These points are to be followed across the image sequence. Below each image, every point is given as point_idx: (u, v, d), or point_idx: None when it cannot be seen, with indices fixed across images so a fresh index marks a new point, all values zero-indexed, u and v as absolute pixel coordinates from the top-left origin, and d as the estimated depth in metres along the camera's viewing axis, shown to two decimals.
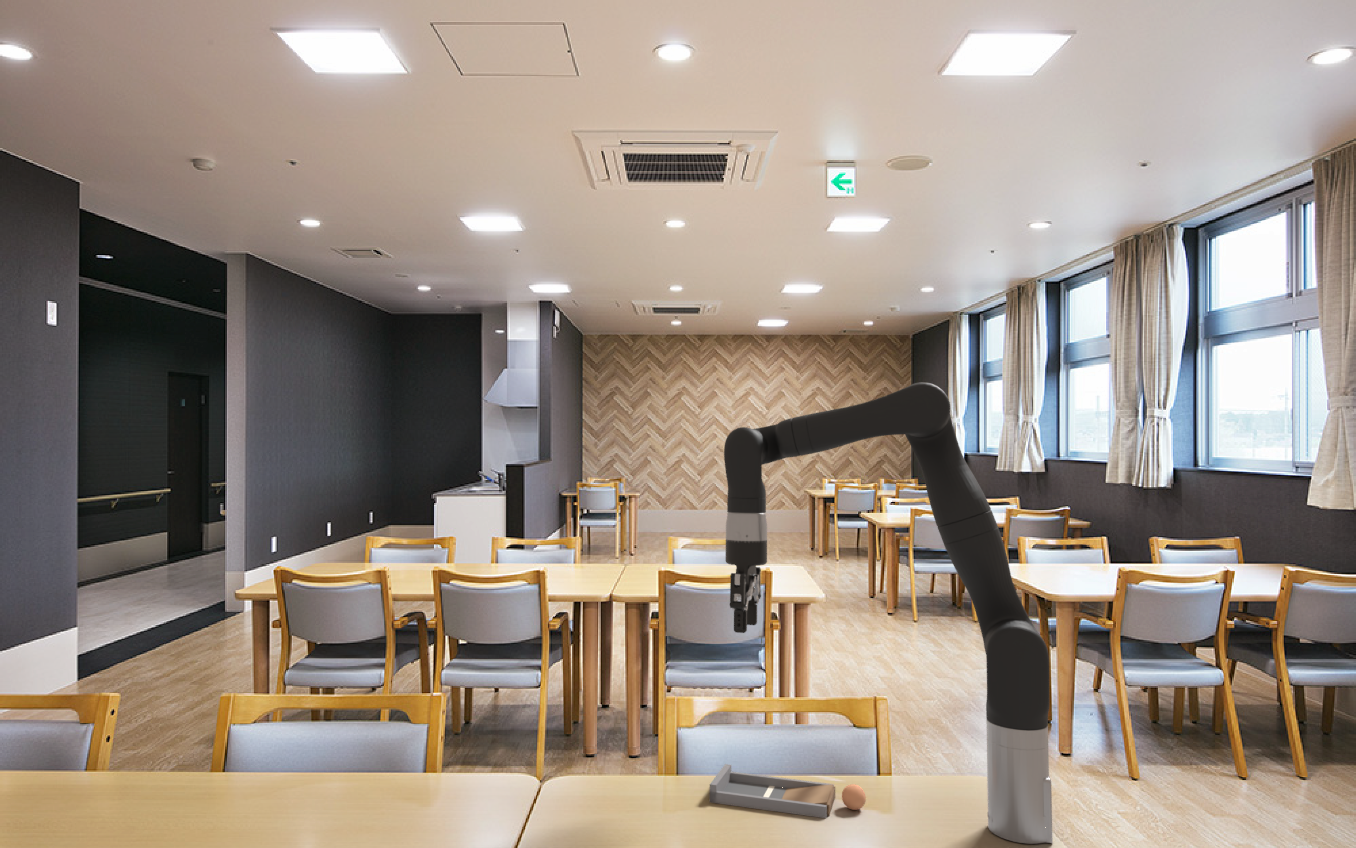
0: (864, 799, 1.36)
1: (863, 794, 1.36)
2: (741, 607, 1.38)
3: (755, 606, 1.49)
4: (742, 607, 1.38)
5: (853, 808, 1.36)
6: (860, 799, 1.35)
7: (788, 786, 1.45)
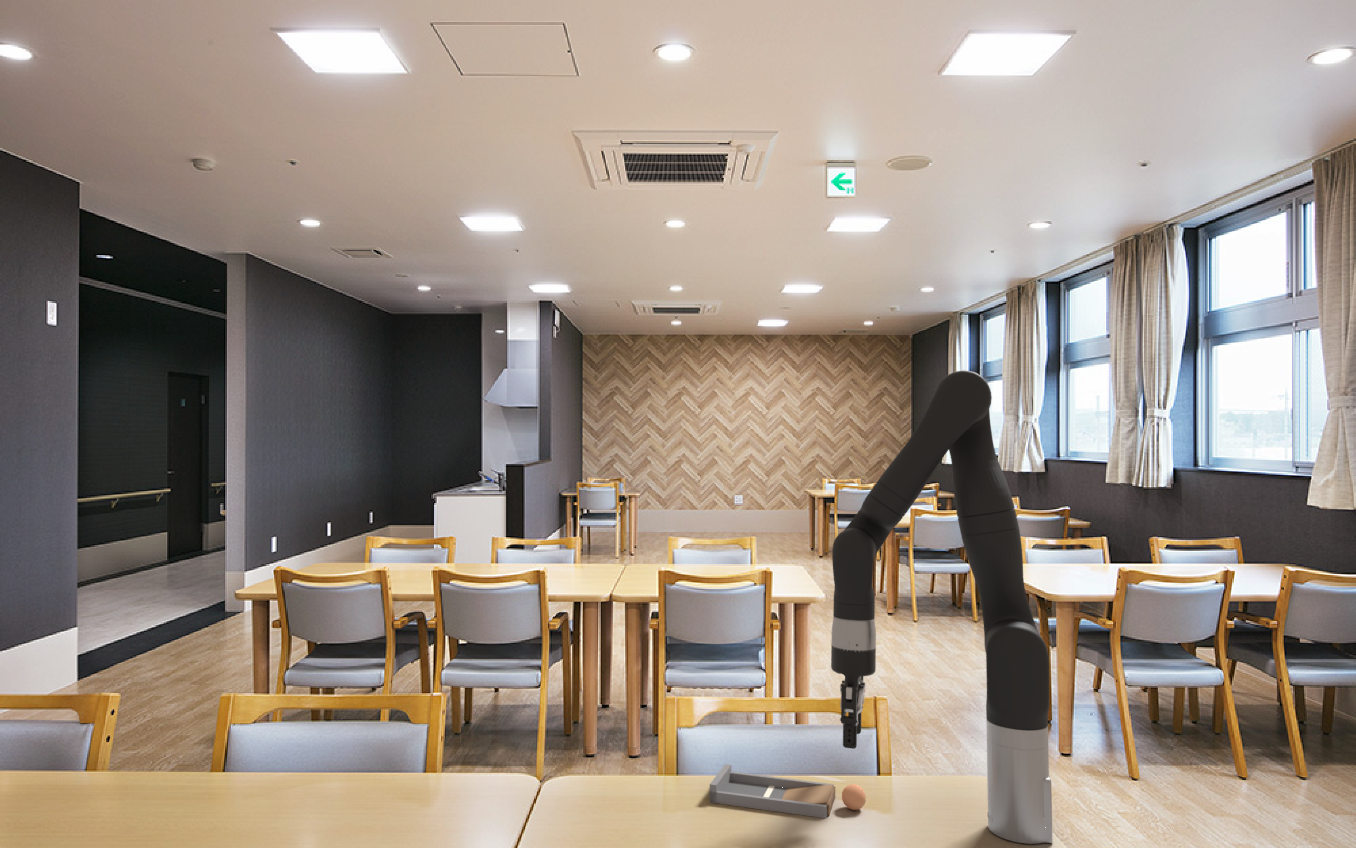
0: (864, 799, 1.36)
1: (863, 794, 1.36)
2: (853, 723, 1.31)
3: (860, 714, 1.42)
4: (854, 723, 1.31)
5: (853, 808, 1.36)
6: (860, 799, 1.35)
7: (788, 786, 1.45)
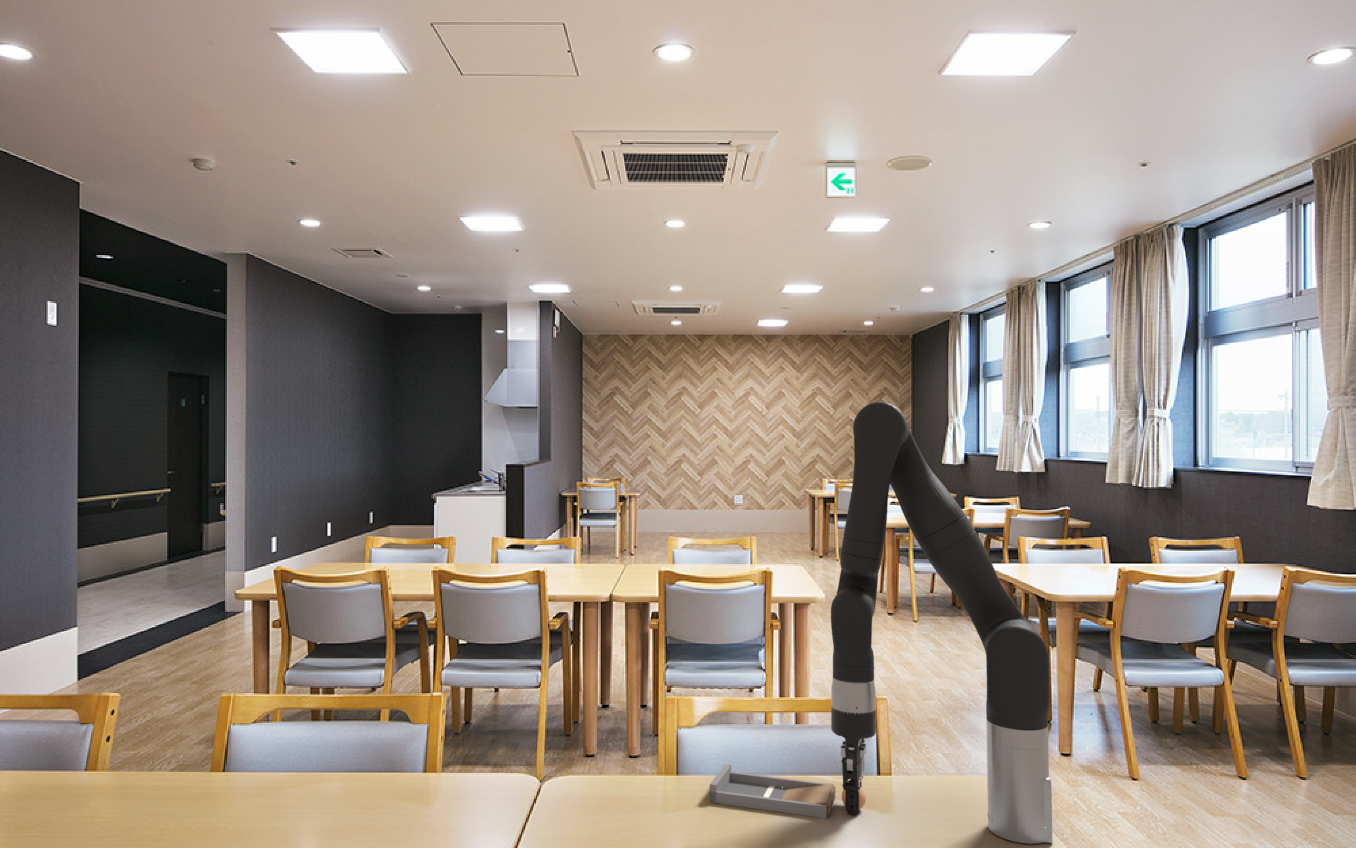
0: (864, 799, 1.36)
1: (863, 794, 1.36)
2: (855, 790, 1.32)
3: (860, 784, 1.39)
4: (856, 790, 1.32)
5: None
6: (860, 799, 1.35)
7: (788, 786, 1.45)
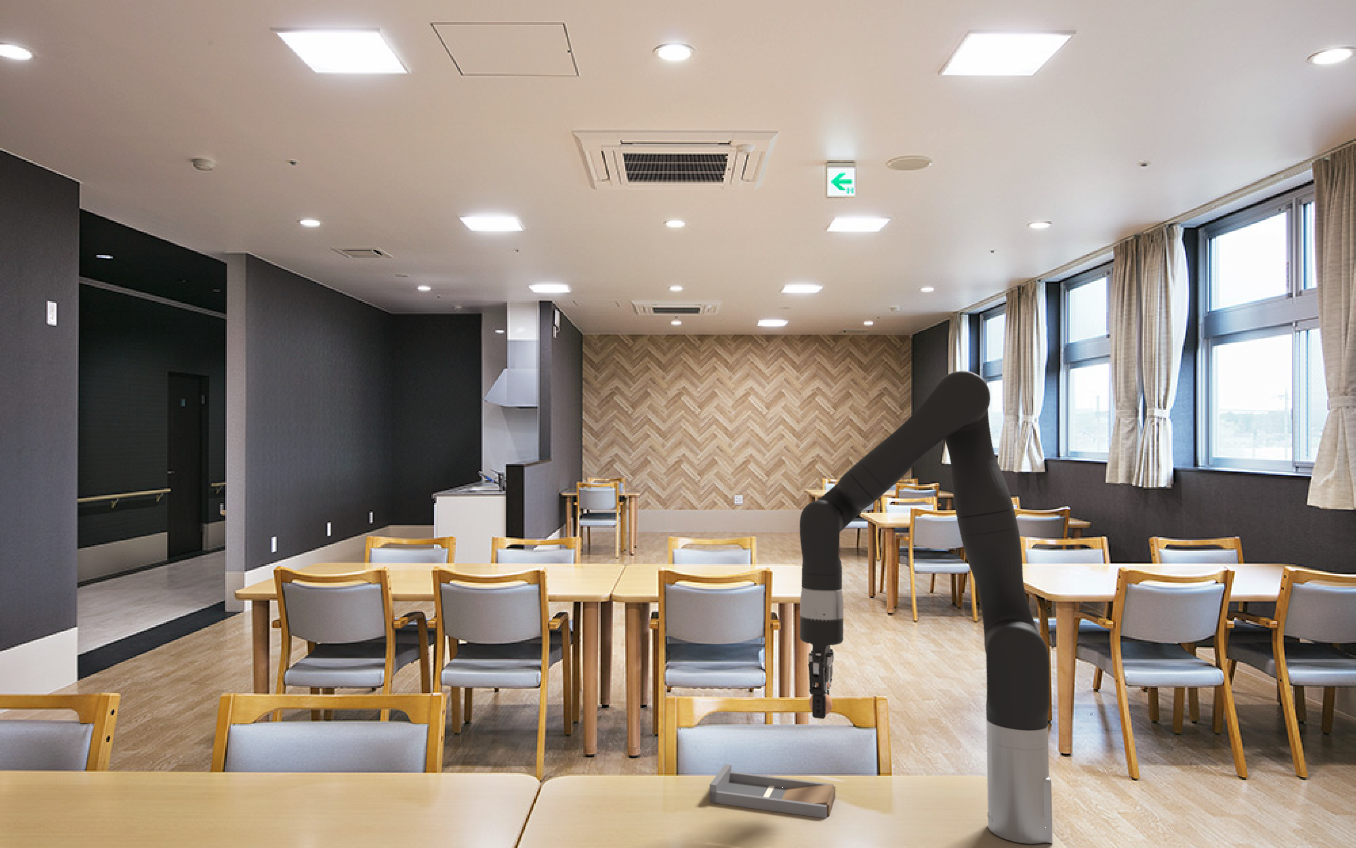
0: (830, 705, 1.39)
1: (830, 700, 1.39)
2: (821, 694, 1.35)
3: (827, 692, 1.42)
4: (822, 694, 1.35)
5: None
6: (827, 705, 1.38)
7: (788, 786, 1.45)
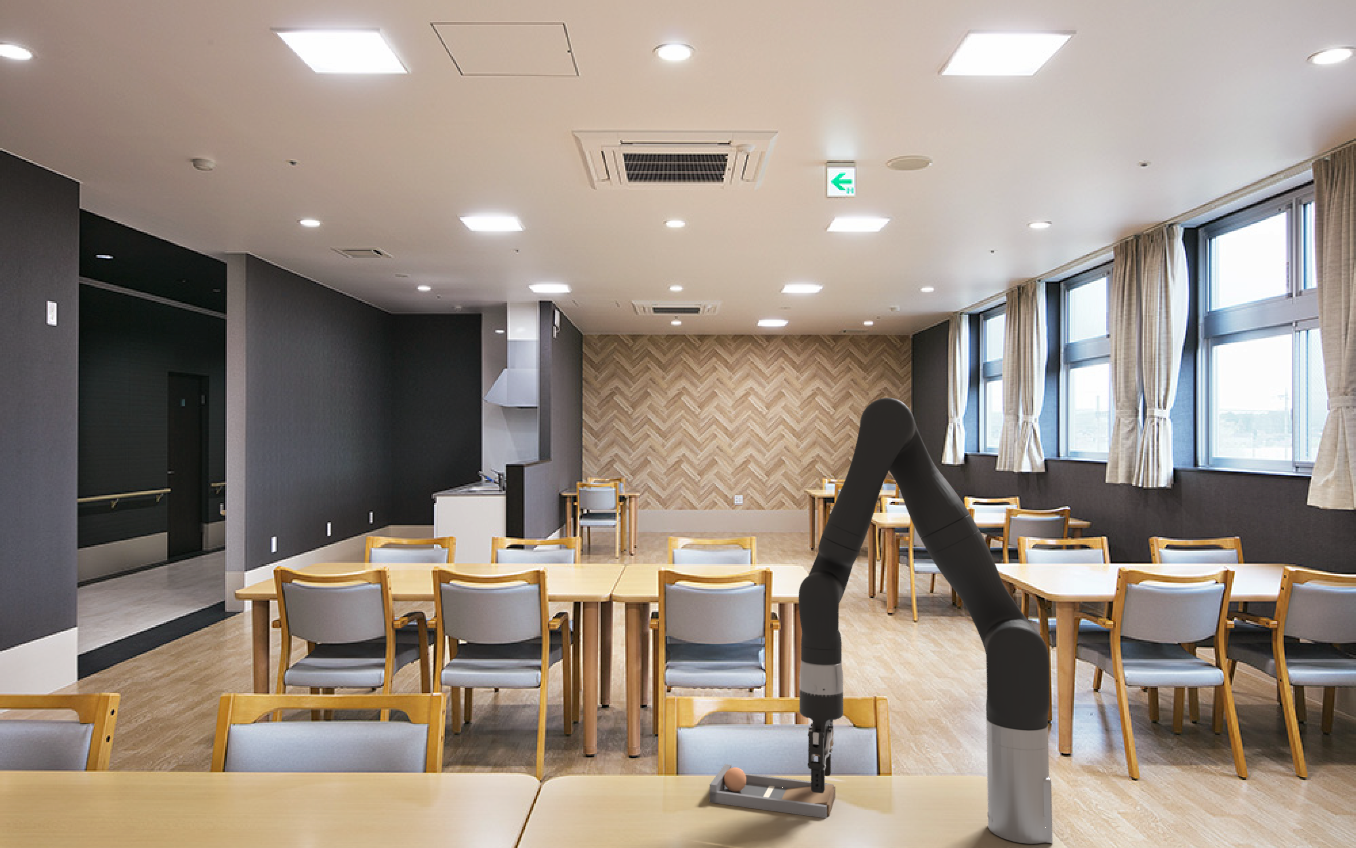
0: (732, 770, 1.43)
1: (729, 770, 1.43)
2: (820, 769, 1.32)
3: (829, 756, 1.43)
4: (821, 769, 1.32)
5: (740, 782, 1.42)
6: (731, 774, 1.42)
7: (788, 786, 1.45)
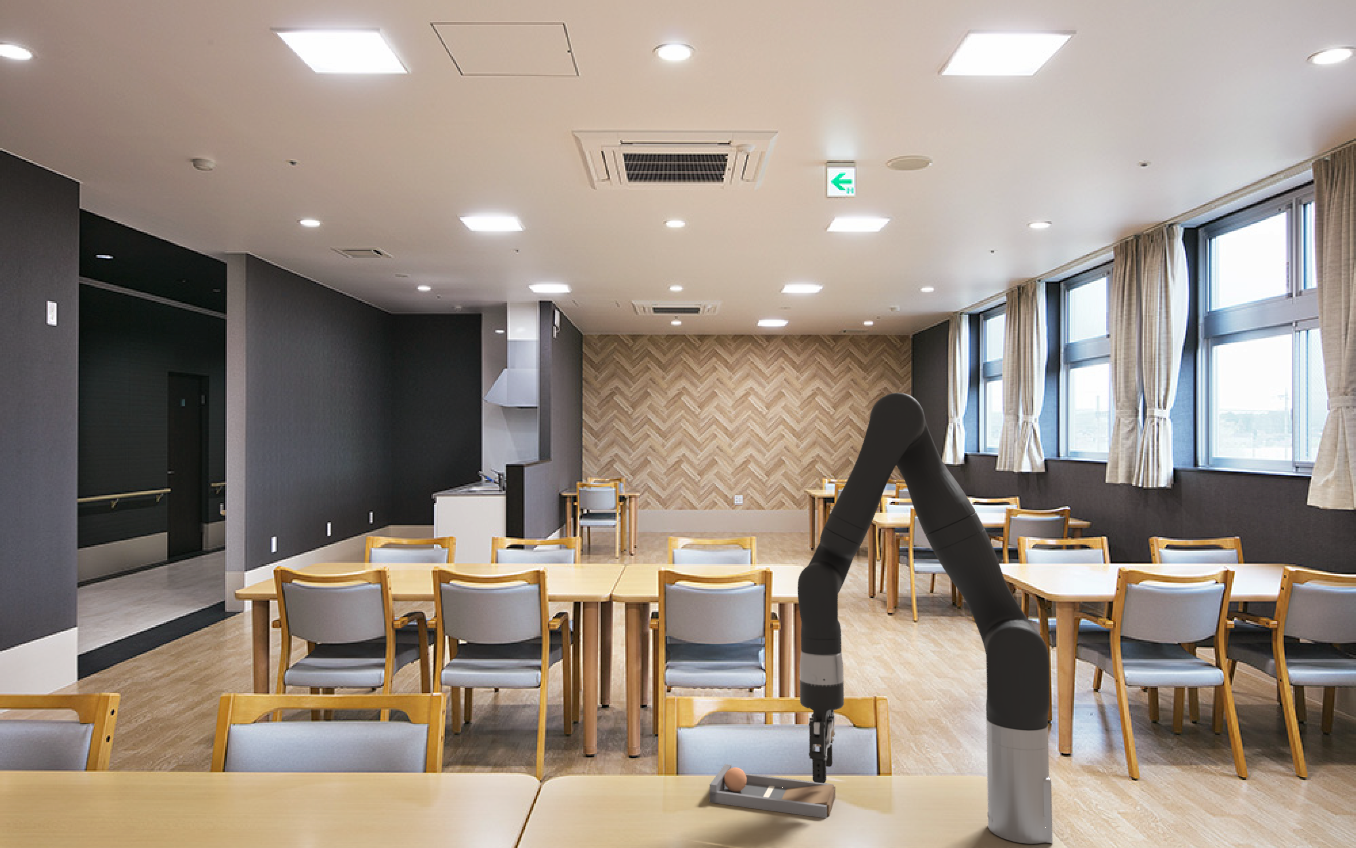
0: (733, 770, 1.43)
1: (730, 770, 1.43)
2: (821, 758, 1.32)
3: (830, 747, 1.43)
4: (822, 758, 1.32)
5: (741, 783, 1.42)
6: (732, 774, 1.42)
7: (788, 786, 1.45)
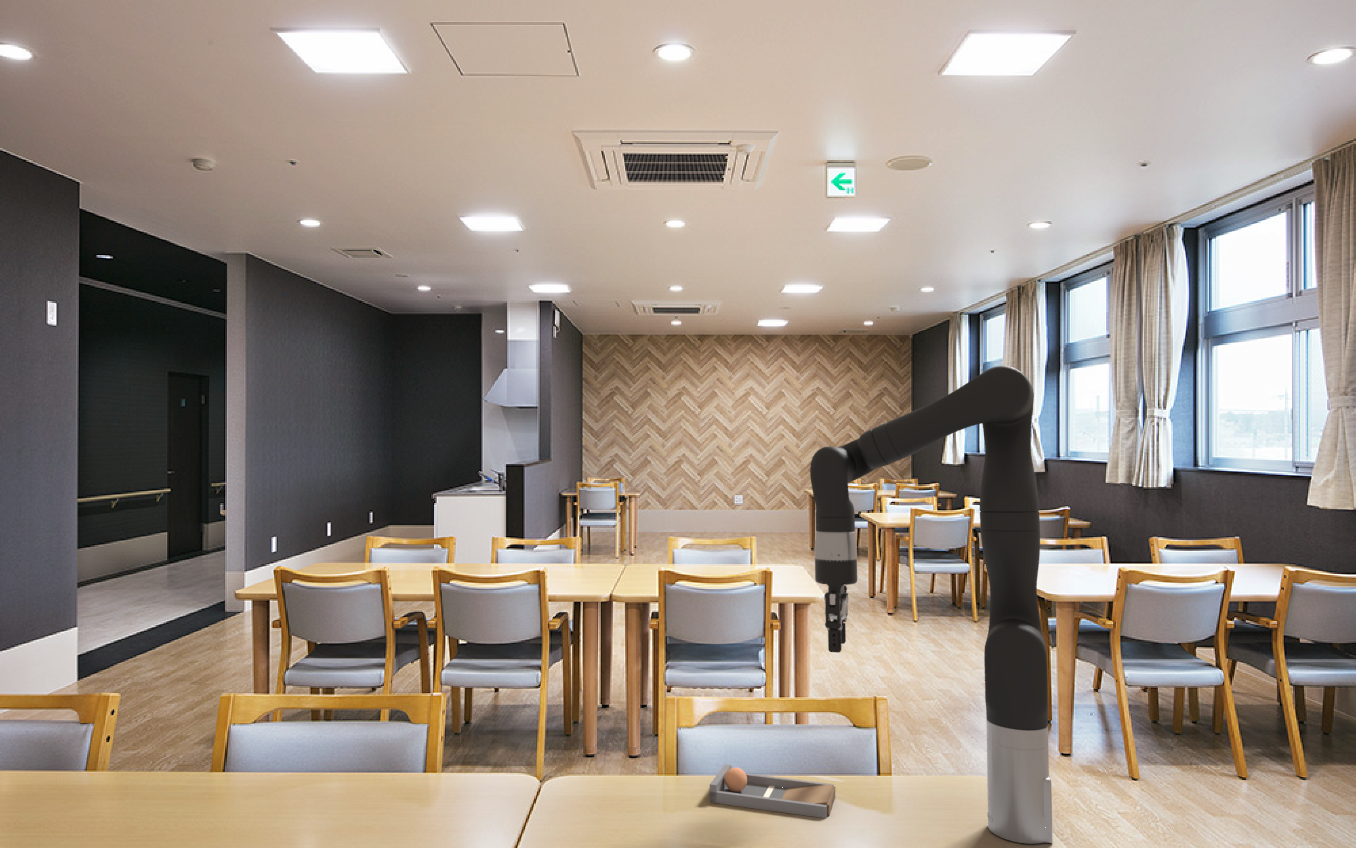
0: (734, 770, 1.43)
1: (731, 770, 1.43)
2: (837, 627, 1.38)
3: (844, 625, 1.49)
4: (838, 627, 1.38)
5: (741, 783, 1.42)
6: (732, 774, 1.42)
7: (788, 786, 1.45)
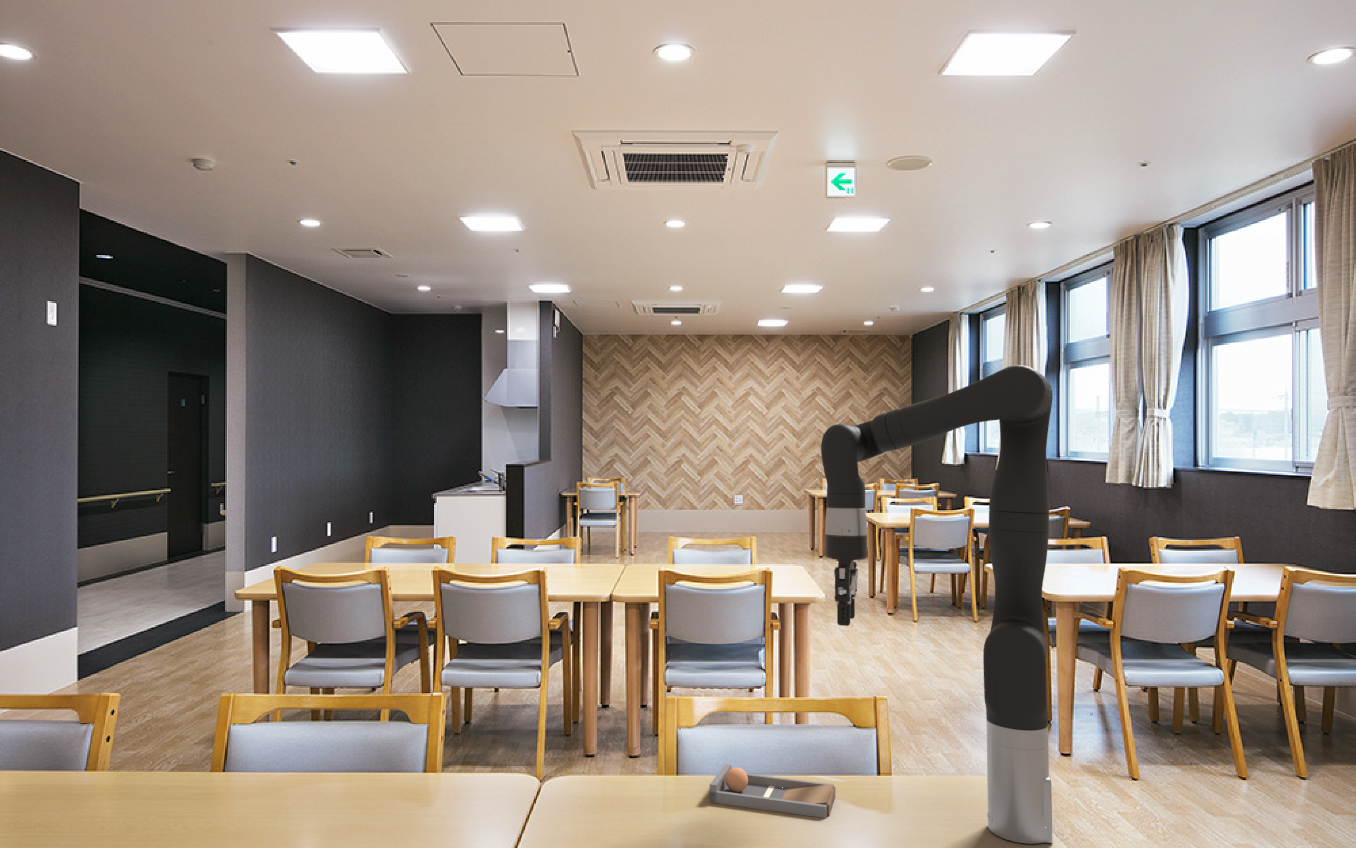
0: (736, 771, 1.43)
1: (732, 770, 1.43)
2: (846, 600, 1.41)
3: (853, 600, 1.51)
4: (847, 600, 1.41)
5: (742, 784, 1.42)
6: (734, 774, 1.42)
7: (788, 786, 1.45)
